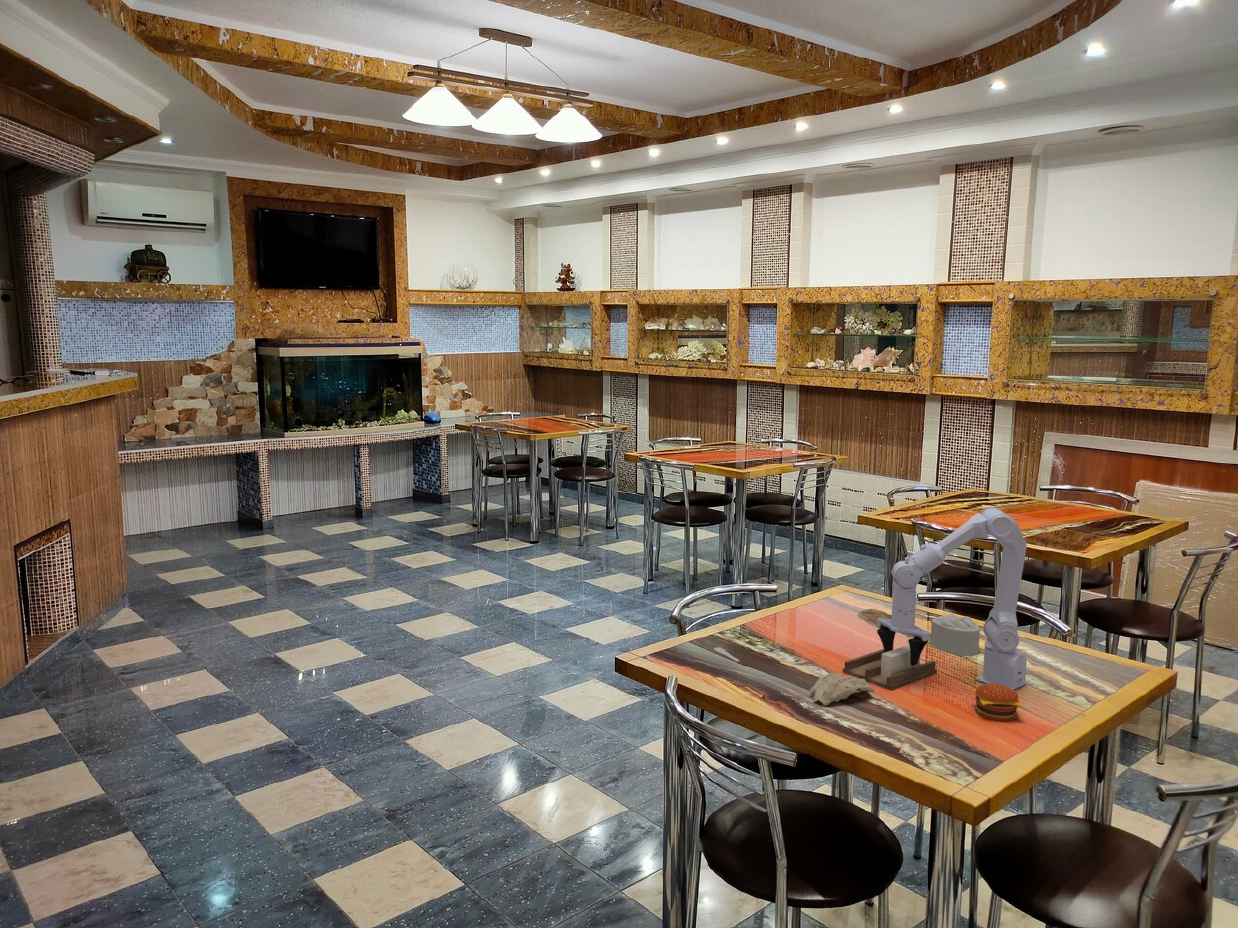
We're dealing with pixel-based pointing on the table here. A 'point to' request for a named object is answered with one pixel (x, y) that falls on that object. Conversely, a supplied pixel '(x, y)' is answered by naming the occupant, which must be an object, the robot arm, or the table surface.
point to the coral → (837, 688)
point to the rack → (871, 671)
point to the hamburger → (996, 702)
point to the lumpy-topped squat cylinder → (955, 635)
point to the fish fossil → (875, 617)
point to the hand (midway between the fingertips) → (901, 660)
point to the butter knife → (725, 653)
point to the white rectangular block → (896, 661)
